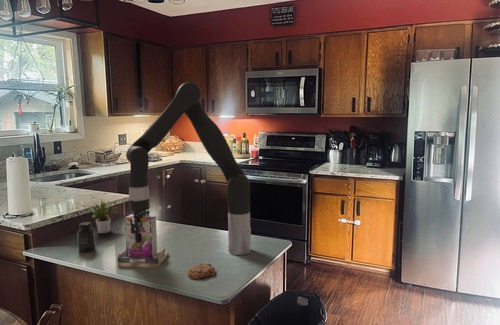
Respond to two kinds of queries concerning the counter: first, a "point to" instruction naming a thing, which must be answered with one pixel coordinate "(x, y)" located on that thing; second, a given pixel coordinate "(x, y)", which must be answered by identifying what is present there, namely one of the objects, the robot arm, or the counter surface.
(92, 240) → the supplement bottle
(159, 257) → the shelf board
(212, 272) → the cookie
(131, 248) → the candy bar box
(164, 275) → the counter surface
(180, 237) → the counter surface
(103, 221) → the house plant
